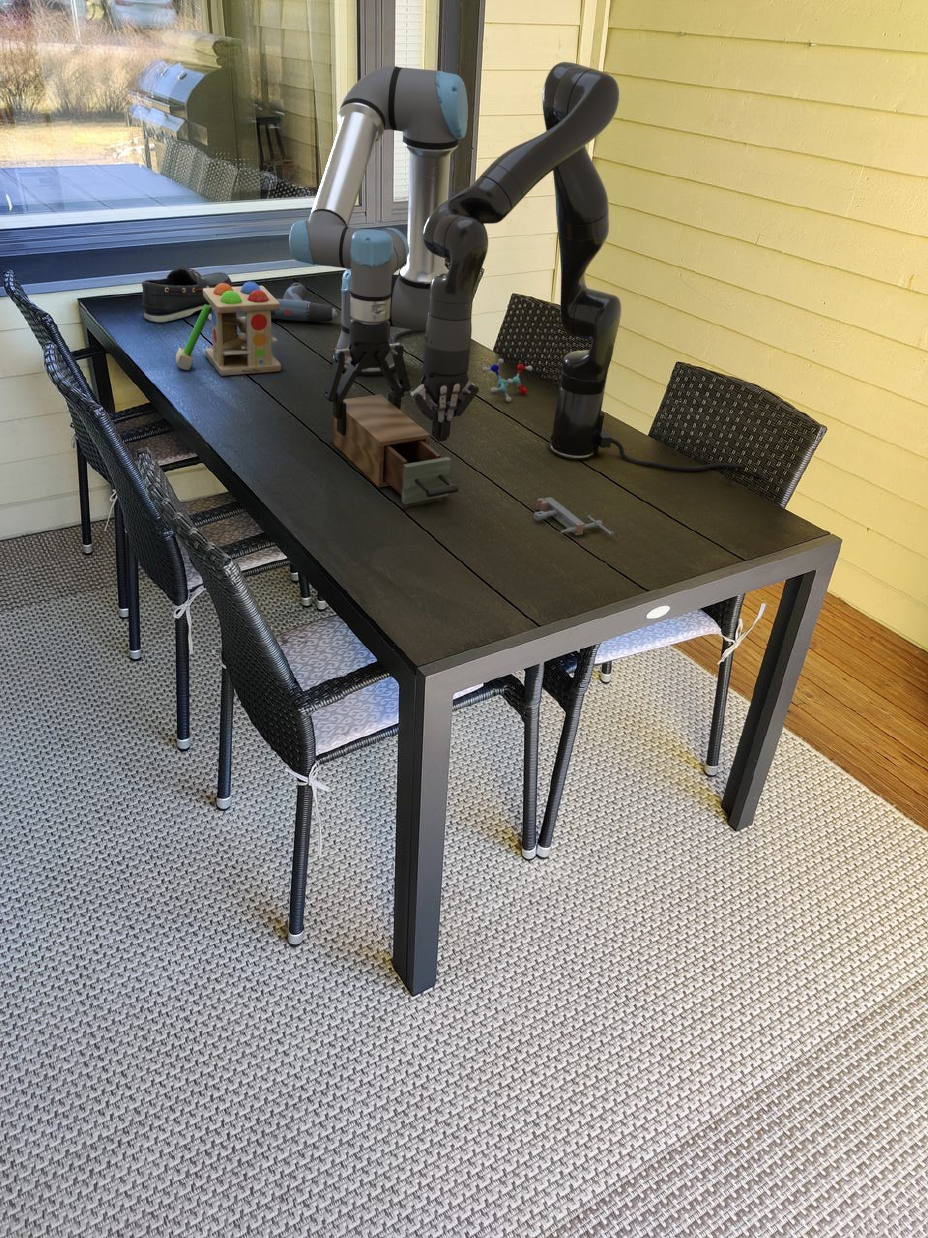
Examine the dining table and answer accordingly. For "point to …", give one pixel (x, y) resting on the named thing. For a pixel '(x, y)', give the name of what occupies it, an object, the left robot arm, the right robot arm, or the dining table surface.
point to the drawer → (417, 471)
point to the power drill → (301, 307)
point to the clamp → (565, 517)
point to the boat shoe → (178, 294)
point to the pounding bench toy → (229, 347)
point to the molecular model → (503, 383)
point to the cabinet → (374, 433)
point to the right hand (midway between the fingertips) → (440, 439)
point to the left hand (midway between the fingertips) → (366, 428)
